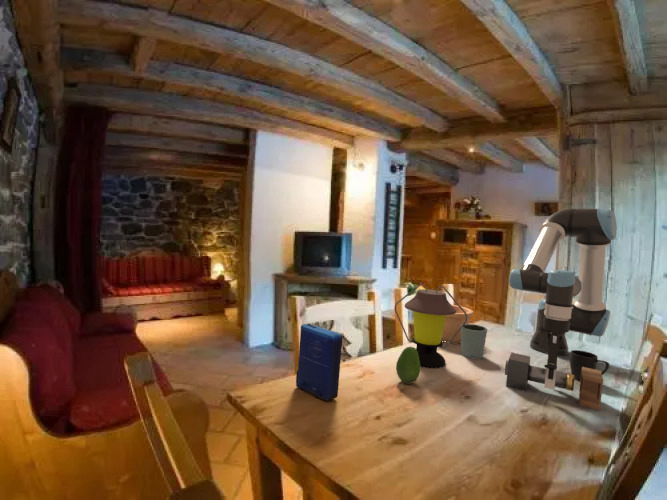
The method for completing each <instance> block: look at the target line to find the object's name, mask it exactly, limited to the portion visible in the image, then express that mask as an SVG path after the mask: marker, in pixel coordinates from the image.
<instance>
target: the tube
mask: <svg viewBox="0 0 667 500" xmlns="http://www.w3.org/2000/svg"><path fill="white" fill-rule="evenodd" d="M508 361H509V359H506V360H505V366H504V376H507V371H508ZM545 377H546V367H544V368H543V367H539V366H535V365H529V367H528V377H527V380H528V382H529V381H530V382H534V383H538V384H541V385H545ZM554 388H558V389H563V390H567V391H570V392H574V388H575V375H573V374H572V373H568V372H562V371H559V370H558V371H557V370H556V378H555V387H554Z"/></svg>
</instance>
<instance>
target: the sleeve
mask: <svg viewBox="0 0 667 500" xmlns="http://www.w3.org/2000/svg"><path fill="white" fill-rule="evenodd" d="M530 363H531V356H530V355H525V354H521V353H516V352H511V353H510V355H509V358H508V371H507V375H506V381H505V387H508V388H512V389H516V390H519V391H523V392H527V387H528V385H529V384H528V383H529V380H527V377H528V367H529V365H530Z"/></svg>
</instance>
